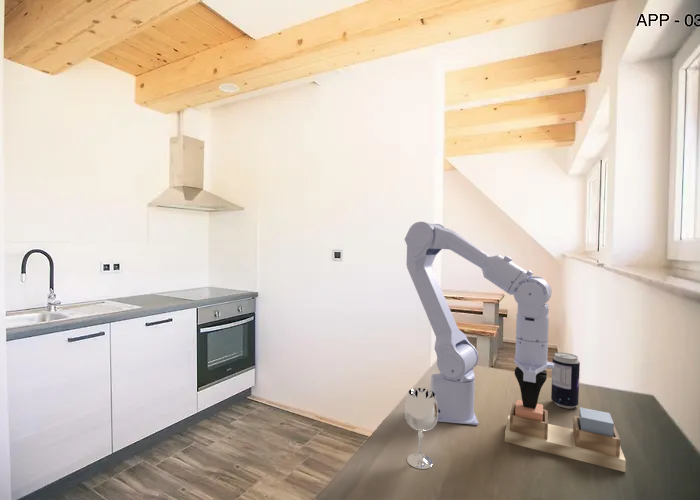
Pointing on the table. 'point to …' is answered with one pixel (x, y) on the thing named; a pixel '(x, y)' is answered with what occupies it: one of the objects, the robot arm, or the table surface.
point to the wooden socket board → (565, 441)
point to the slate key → (596, 422)
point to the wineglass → (421, 421)
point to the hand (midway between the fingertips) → (529, 406)
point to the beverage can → (565, 380)
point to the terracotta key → (529, 411)
